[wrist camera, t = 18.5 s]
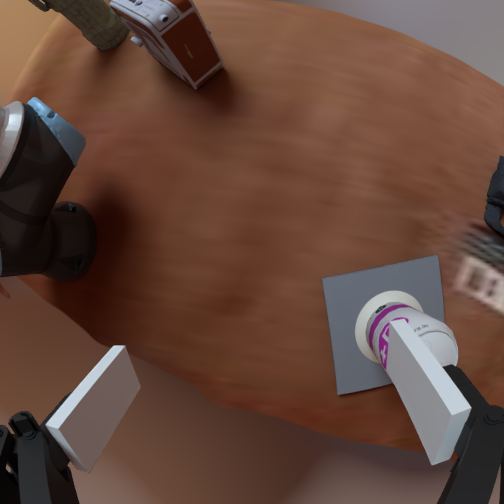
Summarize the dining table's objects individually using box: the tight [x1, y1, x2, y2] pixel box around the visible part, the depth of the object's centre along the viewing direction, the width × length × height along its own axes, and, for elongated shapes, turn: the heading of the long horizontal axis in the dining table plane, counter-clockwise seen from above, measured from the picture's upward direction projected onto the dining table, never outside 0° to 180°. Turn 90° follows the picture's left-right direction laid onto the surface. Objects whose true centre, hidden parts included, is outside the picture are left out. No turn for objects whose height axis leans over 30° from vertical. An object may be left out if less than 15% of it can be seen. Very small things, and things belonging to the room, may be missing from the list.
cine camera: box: [109, 0, 224, 90], centre depth 37 cm, size 9×19×20 cm, turn 43°
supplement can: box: [365, 302, 458, 384], centre depth 32 cm, size 8×8×15 cm
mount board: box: [322, 255, 445, 395], centre depth 40 cm, size 18×18×2 cm
